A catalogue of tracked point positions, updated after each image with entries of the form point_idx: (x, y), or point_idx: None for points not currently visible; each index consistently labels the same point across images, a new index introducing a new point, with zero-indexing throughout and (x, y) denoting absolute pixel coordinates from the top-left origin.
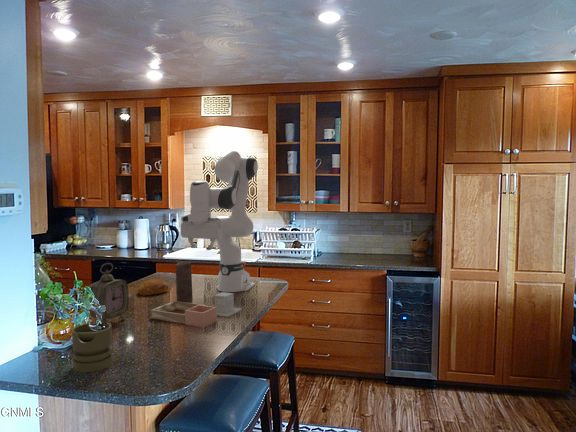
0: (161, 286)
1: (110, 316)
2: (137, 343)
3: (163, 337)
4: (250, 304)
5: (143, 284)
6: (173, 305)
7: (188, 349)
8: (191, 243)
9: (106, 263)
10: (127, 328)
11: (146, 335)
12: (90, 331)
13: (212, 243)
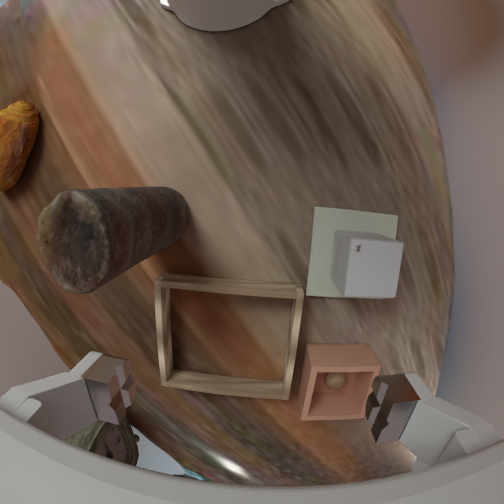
0: (23, 141)
1: (135, 447)
2: (262, 475)
3: (291, 452)
4: (395, 144)
5: None
6: (164, 291)
7: (365, 465)
8: (90, 423)
9: None
10: (178, 432)
11: (249, 453)
12: None
13: (440, 443)
